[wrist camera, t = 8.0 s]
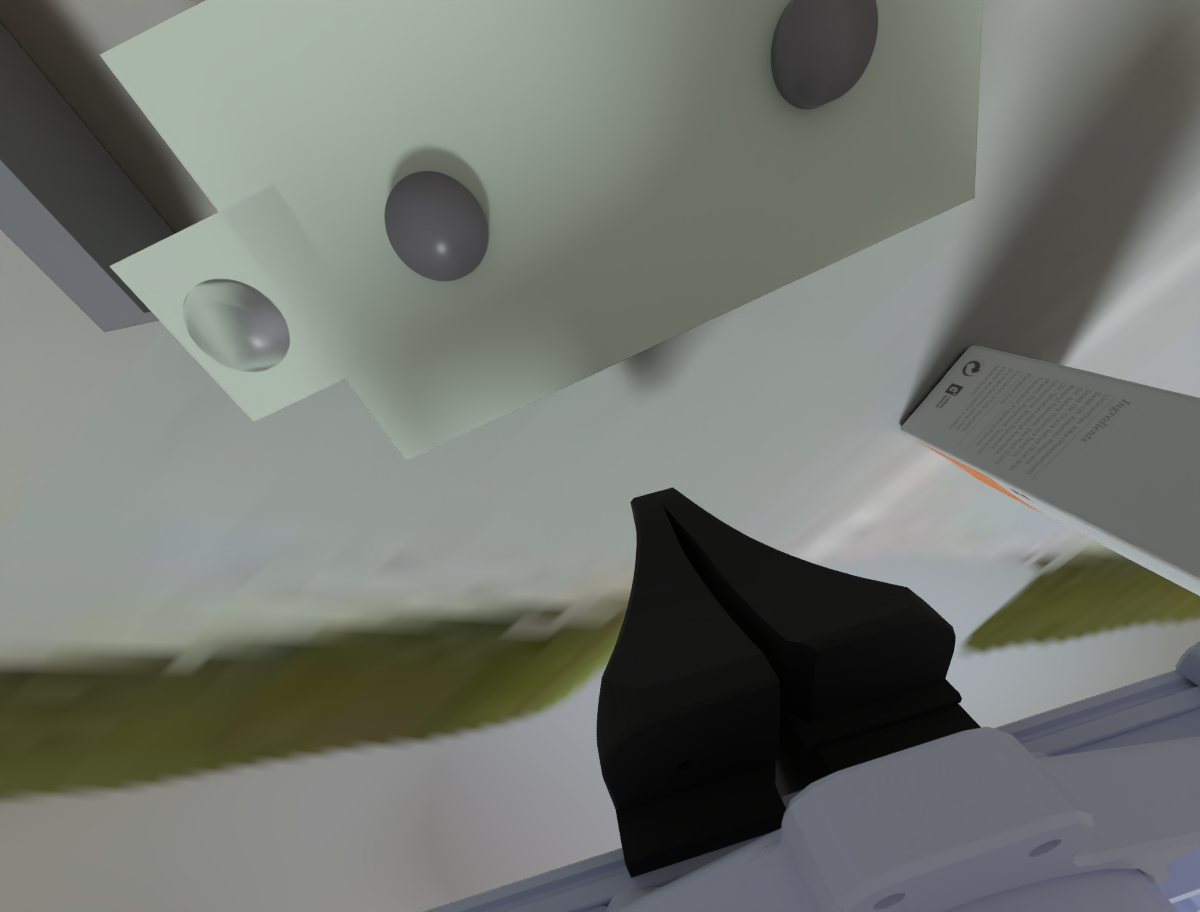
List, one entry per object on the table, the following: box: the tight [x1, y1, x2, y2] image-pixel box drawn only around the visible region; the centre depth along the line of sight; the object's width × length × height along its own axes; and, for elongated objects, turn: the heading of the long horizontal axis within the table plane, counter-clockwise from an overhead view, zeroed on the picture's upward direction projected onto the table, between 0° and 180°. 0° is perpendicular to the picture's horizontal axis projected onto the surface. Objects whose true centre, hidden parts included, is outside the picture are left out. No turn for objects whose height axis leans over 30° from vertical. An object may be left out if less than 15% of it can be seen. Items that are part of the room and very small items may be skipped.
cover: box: [100, 0, 983, 460], centre depth 9 cm, size 7×15×6 cm, turn 112°
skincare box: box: [901, 345, 1200, 596], centre depth 13 cm, size 6×4×12 cm
